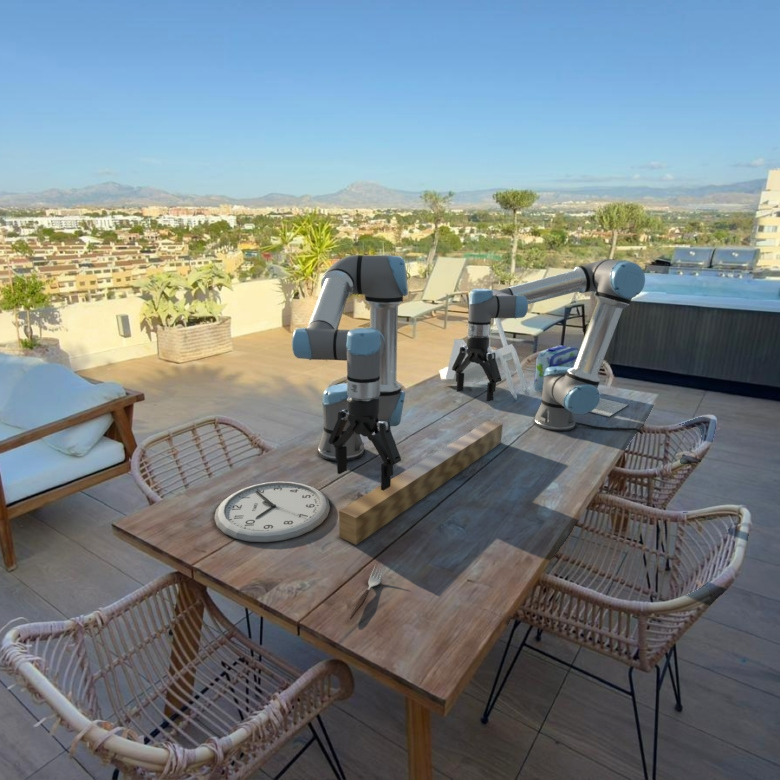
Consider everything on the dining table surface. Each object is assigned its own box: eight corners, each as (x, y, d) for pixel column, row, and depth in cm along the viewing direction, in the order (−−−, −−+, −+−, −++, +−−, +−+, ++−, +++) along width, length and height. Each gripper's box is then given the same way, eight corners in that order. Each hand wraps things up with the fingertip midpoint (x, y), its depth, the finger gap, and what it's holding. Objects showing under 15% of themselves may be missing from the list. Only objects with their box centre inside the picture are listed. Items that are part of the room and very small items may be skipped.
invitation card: (608, 416, 214) (573, 407, 224) (608, 416, 214) (573, 408, 224) (628, 404, 229) (594, 396, 238) (628, 405, 229) (594, 397, 238)
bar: (487, 439, 189) (488, 420, 187) (501, 443, 186) (502, 423, 184) (339, 537, 128) (339, 510, 126) (356, 545, 125) (356, 517, 123)
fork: (344, 619, 101) (343, 610, 101) (374, 571, 116) (374, 563, 115) (356, 623, 100) (356, 614, 100) (385, 574, 115) (385, 566, 114)
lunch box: (550, 398, 235) (555, 353, 229) (529, 393, 243) (534, 349, 236) (577, 387, 253) (583, 345, 247) (557, 382, 260) (562, 341, 254)
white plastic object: (461, 429, 252) (437, 405, 227) (444, 352, 274) (420, 323, 250) (535, 404, 240) (518, 377, 215) (510, 326, 262) (492, 293, 237)
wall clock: (328, 534, 126) (200, 538, 124) (328, 540, 127) (201, 544, 124) (331, 477, 155) (227, 479, 152) (331, 482, 155) (227, 484, 153)
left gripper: (312, 389, 124) (315, 470, 131) (398, 412, 110) (395, 501, 117) (334, 383, 130) (335, 460, 136) (417, 403, 116) (414, 489, 122)
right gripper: (443, 331, 183) (441, 389, 189) (500, 343, 165) (495, 407, 171) (458, 328, 187) (455, 385, 194) (515, 340, 169) (510, 402, 176)
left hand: (363, 479), depth 127 cm, fingers open, 13 cm apart
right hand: (474, 395), depth 182 cm, fingers open, 13 cm apart
